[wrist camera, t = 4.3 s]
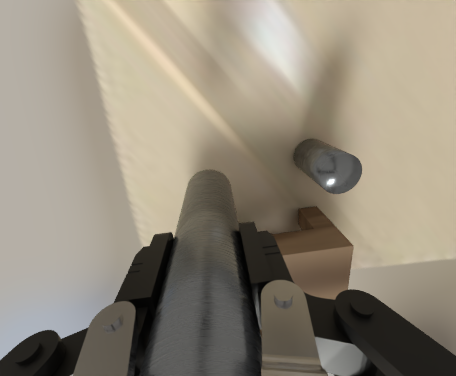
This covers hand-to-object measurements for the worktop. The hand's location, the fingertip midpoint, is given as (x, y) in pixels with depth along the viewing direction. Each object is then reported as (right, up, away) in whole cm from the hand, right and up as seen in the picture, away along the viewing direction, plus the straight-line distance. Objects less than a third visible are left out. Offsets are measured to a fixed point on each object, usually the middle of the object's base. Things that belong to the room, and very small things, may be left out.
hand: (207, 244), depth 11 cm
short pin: (+9, +6, +12) cm, 16 cm away
